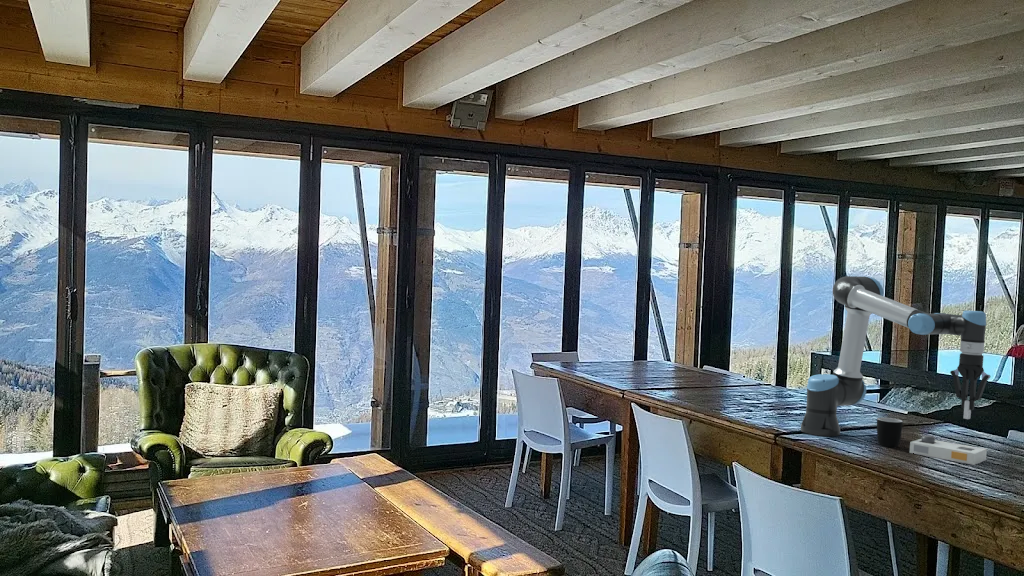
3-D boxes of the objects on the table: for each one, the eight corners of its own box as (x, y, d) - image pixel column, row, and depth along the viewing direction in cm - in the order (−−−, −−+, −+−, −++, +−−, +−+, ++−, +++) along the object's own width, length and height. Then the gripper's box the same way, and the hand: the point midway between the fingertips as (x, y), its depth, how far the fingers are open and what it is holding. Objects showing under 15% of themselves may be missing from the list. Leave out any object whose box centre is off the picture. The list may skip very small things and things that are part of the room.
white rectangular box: (909, 452, 313) (909, 442, 313) (922, 448, 322) (923, 437, 322) (973, 465, 297) (974, 453, 297) (986, 459, 307) (986, 448, 306)
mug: (905, 449, 320) (907, 422, 319) (881, 448, 320) (883, 421, 319) (891, 442, 332) (892, 416, 331) (868, 441, 332) (869, 415, 331)
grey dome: (956, 456, 306) (957, 448, 305) (960, 455, 309) (961, 447, 309) (969, 459, 302) (970, 451, 302) (973, 457, 306) (974, 449, 305)
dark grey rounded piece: (919, 444, 315) (919, 436, 315) (923, 442, 318) (924, 434, 318) (931, 446, 312) (932, 438, 312) (936, 445, 315) (936, 437, 315)
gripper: (948, 351, 306) (944, 416, 307) (988, 356, 297) (983, 422, 298) (955, 350, 312) (951, 414, 313) (994, 355, 302) (990, 420, 303)
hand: (966, 418), depth 305 cm, fingers closed
